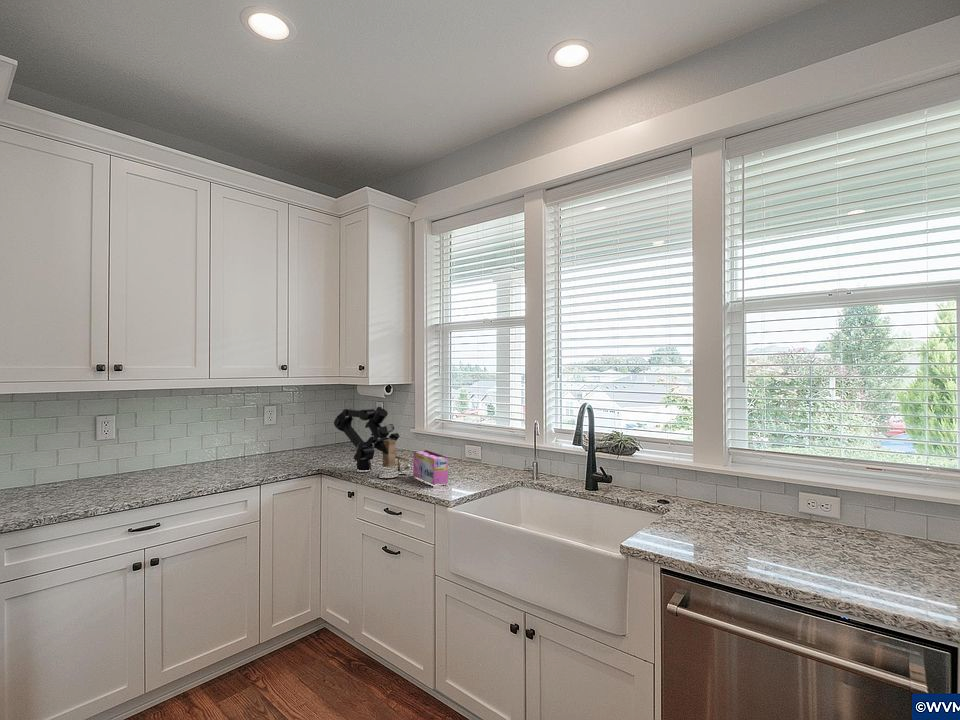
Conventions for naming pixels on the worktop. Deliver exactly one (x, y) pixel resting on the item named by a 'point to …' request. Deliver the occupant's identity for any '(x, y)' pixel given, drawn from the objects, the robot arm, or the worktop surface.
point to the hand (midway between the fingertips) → (390, 453)
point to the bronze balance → (399, 463)
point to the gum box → (430, 467)
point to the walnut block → (389, 453)
